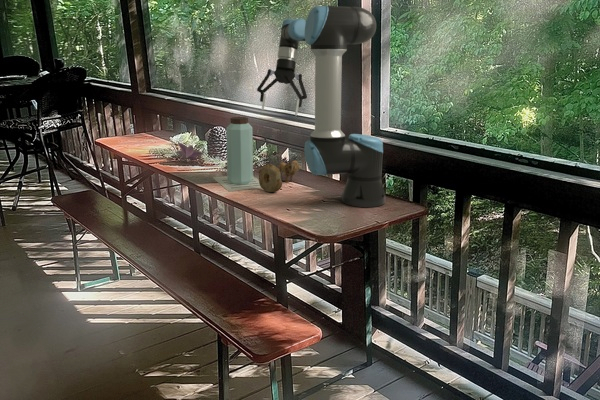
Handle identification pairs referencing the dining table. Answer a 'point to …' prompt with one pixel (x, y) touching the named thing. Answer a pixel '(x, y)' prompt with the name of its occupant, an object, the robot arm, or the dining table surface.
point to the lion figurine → (289, 169)
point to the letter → (234, 187)
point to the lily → (188, 152)
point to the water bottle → (239, 151)
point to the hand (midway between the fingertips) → (279, 113)
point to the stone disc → (270, 178)
